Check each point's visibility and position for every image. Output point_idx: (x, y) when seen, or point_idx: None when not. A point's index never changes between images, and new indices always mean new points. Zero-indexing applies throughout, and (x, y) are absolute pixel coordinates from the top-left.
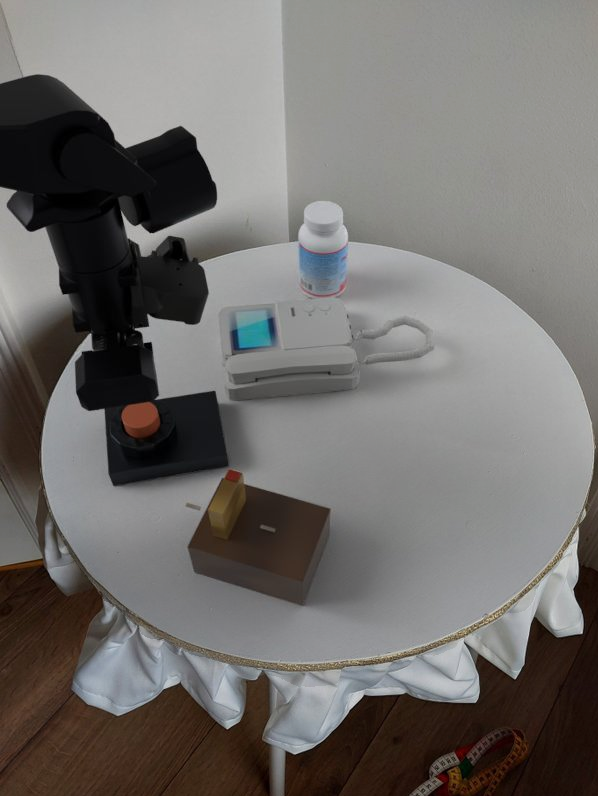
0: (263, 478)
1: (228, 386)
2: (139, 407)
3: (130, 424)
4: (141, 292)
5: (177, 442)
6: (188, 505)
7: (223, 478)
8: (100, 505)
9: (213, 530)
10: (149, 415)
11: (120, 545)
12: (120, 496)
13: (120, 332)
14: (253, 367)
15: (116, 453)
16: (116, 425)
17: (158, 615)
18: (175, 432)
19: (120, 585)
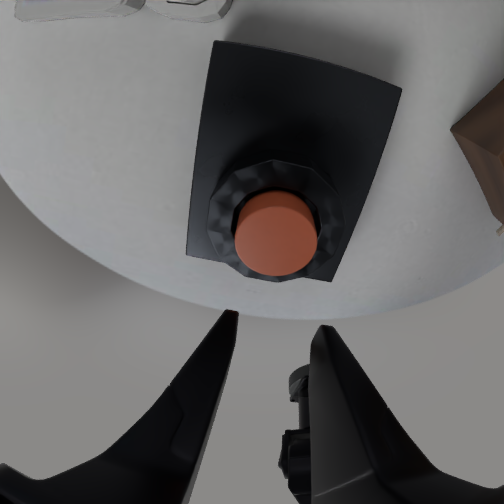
0: (433, 50)
1: (211, 11)
2: (256, 239)
3: (295, 266)
4: None
5: (329, 163)
6: (501, 232)
7: (501, 156)
8: (347, 281)
9: None
10: (291, 227)
11: (413, 274)
12: (348, 257)
13: (194, 476)
14: None
15: None
16: None
17: (496, 262)
18: (313, 163)
19: (451, 285)
